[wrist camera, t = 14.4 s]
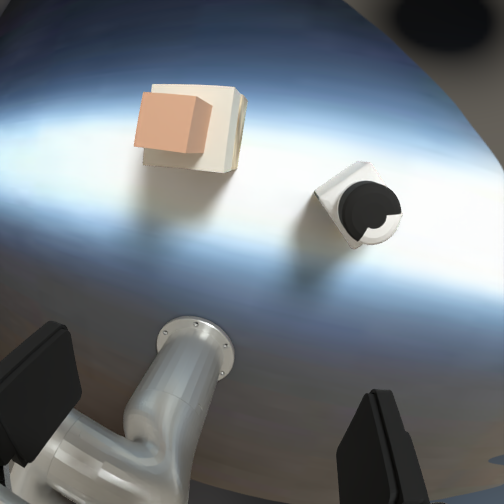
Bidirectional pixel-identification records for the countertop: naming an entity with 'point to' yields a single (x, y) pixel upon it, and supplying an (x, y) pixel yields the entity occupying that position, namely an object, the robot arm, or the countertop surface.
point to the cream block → (218, 134)
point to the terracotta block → (173, 122)
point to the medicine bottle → (361, 205)
